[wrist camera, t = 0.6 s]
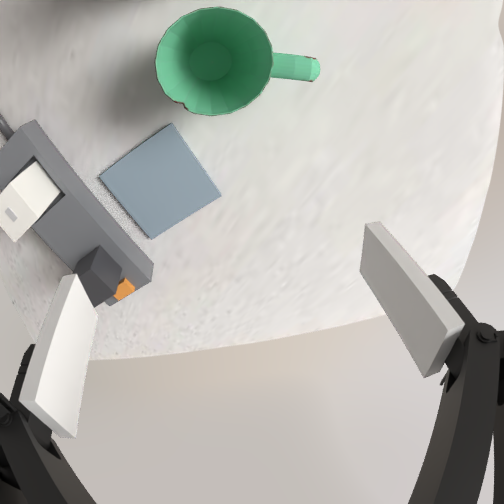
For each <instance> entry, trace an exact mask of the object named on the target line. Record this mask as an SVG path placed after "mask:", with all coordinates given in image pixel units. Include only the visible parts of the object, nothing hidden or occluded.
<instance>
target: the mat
mask: <svg viewBox="0 0 504 504" xmlns="http://www.w3.org/2000/svg"><path fill="white" fill-rule="evenodd" d="M99 177H100V178H101V180H102V181H103V182H104V183H105V185H106V186H107V187H108V188H109V190H110V191H111V192H112V193H113V195H114V196H115V197H116V198H117V199H118V201H119V202H120V203H121V204H122V205H123V207H124V208H125V209H126V210H127V211H128V213H129V214H130V215H131V216H132V217H133V219H134V220H135V221H136V222H137V223H138V224H139V226H140V227H141V228H142V229H143V230H144V232H145V233H146V234H147V235H148V236H149V237H150V238H151V240H152V239H153V238H155V237H157V236H158V235H160V234H161V233H163V232H164V231H166V230H167V229H169V228H171V227H172V226H174V225H175V224H177V223H178V222H180V221H182V220H183V219H185V218H186V217H188V216H190V215H191V214H193V213H194V212H196V211H198V210H199V209H201V208H203V207H204V206H206V205H207V204H209V203H211V202H212V201H214V200H216V199H217V198H219V197H221V193H220V192H219V190H218V189H217V187H216V186H215V184H214V183H213V181H212V180H211V179H210V177H209V176H208V174H207V173H206V171H205V170H204V168H203V167H202V166H201V164H200V163H199V161H198V160H197V158H196V157H195V155H194V154H193V153H192V151H191V150H190V148H189V147H188V145H187V144H186V142H185V141H184V140H183V138H182V137H181V135H180V134H179V132H178V131H177V130H176V128H175V127H174V125H173V124H172V123H171V124H169V125H168V126H166V127H165V128H163V129H162V130H160V131H159V132H157V133H156V134H155V135H153V136H152V137H150V138H149V139H147V140H146V141H145V142H143V143H142V144H140V145H139V146H138V147H136V148H135V149H134V150H132V151H131V152H129V153H128V154H127V155H125V156H124V157H123V158H122V159H120V160H119V161H118V162H116V163H115V164H114V165H112V166H111V167H110V168H109V169H107V170H106V171H105V172H104V173H102V174H101V175H100V176H99Z"/></svg>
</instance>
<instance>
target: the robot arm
mask: <svg viewBox="0 0 504 504" xmlns="http://www.w3.org/2000/svg"><path fill="white" fill-rule="evenodd" d="M360 273H361V275H362V276H363V278H364V279H365V281H366V282H367V284H368V286H369V287H370V289H371V290H372V292H373V293H374V295H375V297H376V298H377V300H378V301H379V303H380V304H381V306H382V308H383V309H384V311H385V313H386V314H387V316H388V317H389V319H390V321H391V322H392V324H393V326H394V327H395V329H396V331H397V332H398V334H399V336H400V337H401V339H402V341H403V342H404V344H405V346H406V347H407V349H408V351H409V353H410V354H411V356H412V358H413V360H414V361H415V363H416V365H417V367H418V368H419V370H420V372H421V374H422V376H423V377H424V378H426V377H428V376H431V375H433V374H435V373H438V372H440V370H441V368H442V367H443V365H444V363H446V365H447V367H448V368H449V369H448V371H447V373H446V374H445V376H444V378H443V379H442V381H441V383H440V385H443V383H444V382H445V383H444V388H443V393H442V397H441V402H440V406H439V410H438V414H437V419H436V422H435V426H434V430H433V433H432V436H431V440H430V443H429V446H428V450H427V453H426V456H425V459H424V462H423V465H422V468H421V471H420V474H419V477H418V480H417V482H416V485H415V487H414V490H413V493H412V495H411V498H410V500H409V503H408V504H477V501H478V498H479V494H480V490H481V486H482V483H483V479H484V475H485V471H486V466H487V462H488V457H489V451H490V446H491V441H492V435H493V436H494V498H493V504H504V331H496V329H494V328H493V327H492V326H491V325H488V324H486V323H478V322H477V320H476V319H475V318H474V317H473V315H472V314H471V313H470V311H469V310H468V309H467V308H466V307H465V305H464V304H463V303H462V301H461V300H460V299H459V298H457V295H456V294H455V293H454V291H452V289H451V288H450V287H449V285H448V284H447V283H446V282H445V281H444V280H443V279H441V278H440V277H438V276H437V275H435V274H433V275H429V276H427V275H426V274H425V272H424V271H423V270H422V269H421V268H420V266H419V265H418V264H417V263H416V262H415V261H414V259H413V258H412V257H411V256H410V255H409V254H408V252H407V251H406V250H405V249H404V248H403V247H402V246H401V244H400V243H399V242H398V241H397V240H396V239H395V238H394V237H393V235H392V234H391V233H390V232H389V231H388V230H387V229H386V228H385V227H384V226H383V225H382V223H381V222H374V223H368V224H365V231H364V240H363V249H362V257H361V265H360ZM97 321H98V315H97V313H96V311H95V309H94V307H93V305H92V303H91V302H90V300H89V298H88V296H87V294H86V292H85V290H84V288H83V286H82V284H81V282H80V280H79V278H78V276H77V273H76V274H71V275H65V276H63V277H62V279H61V281H60V284H59V286H58V288H57V291H56V293H55V295H54V298H53V300H52V303H51V305H50V308H49V310H48V313H47V315H46V318H45V320H44V323H43V326H42V328H41V331H40V334H39V336H38V339H37V342H36V344H31V345H30V347H29V348H28V349H27V351H26V352H25V353H24V356H23V359H22V362H21V366H20V368H19V371H18V375H17V377H16V380H15V384H14V387H13V390H12V394H11V397H10V401H8V399H7V398H6V397H5V396H4V395H3V394H2V393H0V504H96V502H95V501H94V500H93V498H92V497H91V496H90V494H89V493H88V492H87V490H86V489H85V487H84V486H83V485H82V483H81V482H80V480H79V479H78V477H77V476H76V475H75V473H74V471H73V470H72V468H71V467H70V465H69V464H68V462H67V461H66V459H65V457H64V456H63V454H62V453H61V451H60V449H59V448H58V446H57V444H56V443H55V441H54V440H53V439H52V438H51V434H52V431H53V432H54V433H56V434H57V435H58V436H59V437H62V438H76V433H77V426H78V419H79V411H80V405H81V399H82V393H83V388H84V382H85V377H86V371H87V366H88V361H89V357H90V352H91V347H92V343H93V338H94V334H95V330H96V326H97Z"/></svg>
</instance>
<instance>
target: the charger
mask: <svg viewBox="0 0 504 504" xmlns="http://www.w3.org/2000/svg"><path fill="white" fill-rule="evenodd" d="M61 191H62V190H61V189H60V188H59V186H58V185H57V184H56V183H55V181H54V180H53V179H52V178H51V176H50V175H49V174H48V173H47V171H46V170H45V169H44V168H43V166H42V165H41V164H40V162H39V161H38V160H37V161H36V162H34V163H33V164H32V165H31V166H29V167H28V168H27V169H26V170H24V171H23V172H22V173H21V174H20V175H18V176H17V177H16V178H15V179H14V180H12V181H11V182H10V183H9V184H8V185H7V187H6V188H5V189H4V190H3V191H2V193H1V194H0V227H1V228H2V229H3V230H4V231H5V232H6V234H7V235H8V236H9V237H10V238H11V239H12V240H13V241H14V243H15V242H16V241H17V240H18V239H19V238H20V237H21V236H22V235H23V234H24V233H25V232H26V231H27V230H28V229H29V228H30V227H31V226H32V225H33V224H34V223H35V222H36V221H37V220H38V219H39V217H40V216H41V215H42V214H43V212H44V211H45V210H46V209H47V207H48V206H49V205H50V204H51V203H52V201H53V200H54V199H55V198H56V197H57V195H58V194H59V193H60V192H61Z"/></svg>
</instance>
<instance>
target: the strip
mask: <svg viewBox="0 0 504 504" xmlns="http://www.w3.org/2000/svg"><path fill="white" fill-rule="evenodd" d="M0 130H1V131H2V133H3V134H4V136H5V137H6V138H7V140H8V141H7V143H6V144H5V145H4V146H3V147H2V149H1V150H0V190H1V191H3V190H4V189H5V188H6V187H7V185H8V184H9V183H10V182H11V181H12V180H14V179H15V178H16V177H17V176H18V175H20V174H21V173H22V172H23V171H24V170H26V169H27V168H28V167H29V166H31V165H32V164H33V163H34V162H36V161H37V160H38V161H39V162H40V164H41V165H42V166H43V168H44V169H45V170H46V171H47V173H48V174H49V175H50V176H51V178H52V179H53V180H54V181H55V183H56V184H57V185H58V186H59V188H60V189H61V190H62V191H61V192H60V193H59V194H58V195H57V197H56V198H55V199H54V200H53V201H52V203H51V204H50V205H49V206H48V207H47V209H46V210H45V211H44V212H43V214H42V215H41V216H40V217H39V219H38V220H37V221H36V222H35V223H34V224H33V225H32V226H31V227H32V228H33V229H34V230H35V232H36V233H37V234H38V235H39V236H40V237H41V238H42V239H43V240H44V242H45V243H46V244H47V245H48V246H49V247H50V248H51V249H52V250H53V251H54V252H55V253H56V254H57V255H58V256H59V258H60V259H61V260H62V261H63V262H64V263H65V264H66V265H67V266H68V267H69V268H70V269H71V270H72V271H73V273H72V274H76V273H77V276H78V278H79V280H80V282H81V284H82V286H83V288H84V290H85V292H86V294H87V296H88V298H89V300H90V302H91V303H92V305H93V307H96V306H98V305H99V304H101V303H102V302H106V303H107V304H108V305H109V306H111V305H113V304H115V303H116V302H118V301H120V300H121V299H123V298H125V297H126V296H128V295H129V294H131V293H133V292H134V291H136V290H138V289H139V288H141V287H143V286H144V285H146V284H148V283H149V282H151V279H152V272H153V266H154V263H153V262H152V261H151V260H150V259H149V258H148V257H147V256H146V255H145V254H144V252H143V251H142V250H141V249H140V248H139V247H138V246H137V245H136V244H135V242H134V241H133V240H132V239H131V238H130V237H129V236H128V235H127V233H126V232H125V231H124V230H123V229H122V228H121V227H120V225H119V224H118V223H117V222H116V221H115V220H114V218H113V217H112V216H111V215H110V214H109V213H108V211H107V210H106V209H105V208H104V207H103V206H102V204H101V203H100V202H99V201H98V200H97V198H96V197H95V196H94V195H93V194H92V192H91V191H90V190H89V189H88V187H87V186H86V185H85V184H84V183H83V181H82V180H81V179H80V178H79V176H78V175H77V174H76V173H75V171H74V170H73V169H72V168H71V166H70V165H69V164H68V162H67V161H66V160H65V159H64V157H63V156H62V155H61V153H60V152H59V151H58V150H57V148H56V147H55V146H54V144H53V143H52V142H51V140H50V139H49V138H48V136H47V135H46V134H45V132H44V131H43V130H42V128H41V127H40V125H39V124H38V123H37V121H36V120H33V121H31V122H29V123H27V124H25V125H23V126H21V127H20V128H19V129H18V130H17V131H16V132H15V133H14V132H13V131H12V129H11V128H10V127H9V125H8V124H7V122H6V121H5V120H4V118H3V117H2V115H1V114H0Z"/></svg>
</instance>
